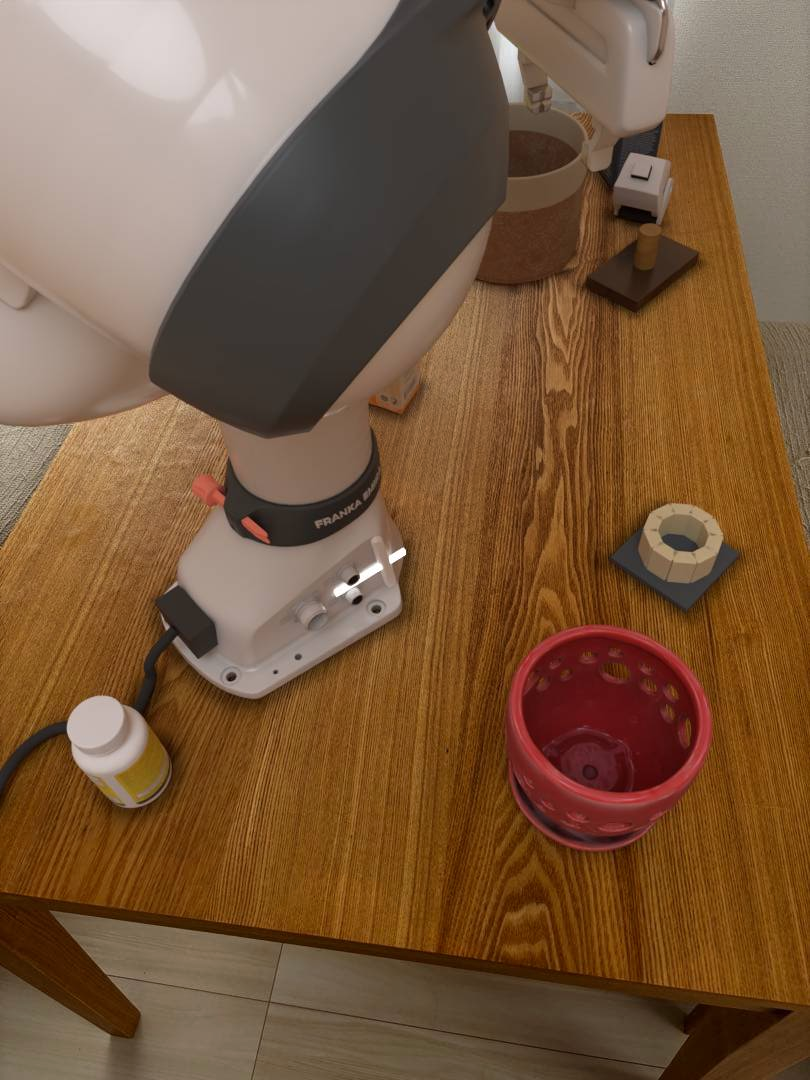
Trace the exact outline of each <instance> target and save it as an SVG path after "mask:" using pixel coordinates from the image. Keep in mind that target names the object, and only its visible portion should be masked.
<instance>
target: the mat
mask: <svg viewBox="0 0 810 1080" xmlns="http://www.w3.org/2000/svg"><path fill="white" fill-rule="evenodd" d="M644 526H645V523H644V524H643V525H642V526H641V527H640V528H639V529H637V531H636V532H634V533H633V534H632V536H630V537H629V538H628V539H627V540H626V541H625V542H624V543H623V544H622V545H621V546H620V547H619V548H618V549H617V550H616V551H615V552H614V553H613V554H612V555H611V556H610V558H609V561H610V562H611V563H612V564H614V565H616V567H618V568H619V569H621V570H622V571H624V572H625V573H627V574H628V575H630V576H631V577H633V578H634V579H635V580H637V581H639V583H641V584H643V585H644V586H646V587H647V588H648V589H650V590H652V591H653V592H654V593H656V594H657V595H659V596H660V597H661V598H663V599H665V600H666V601H668V602H669V603H670V604H672V605H673V606H675V607H676V608H678V609H679V610H680V611H682V612H683V613H685V614H686V613H687V612H689V610H690V609H691V608H692V607H694V606H695V604H696V603H697V602H698V601H699V600H700V599H701V598H702V597H703V596H704V594H706V593H707V591H709V590H710V588H711V587H712V586H713V585H714V584H715V583H716V582H717V581H718V580H719V578H721V576H722V575H724V573H725V572H726V571H727V570H728V569H729V568H730V567H731V566H732V565H733V564H734V563H735V562H736V561H737V559H738V558H739V557H740V554H741V553H740V552H739V551H737V550H736V549H735V548H733V547H732V546H730V545H728V544H726V543H725V542H723V541H722V543H721V546H720V549H719V552H718V555H717V557H716V560H715V562H714V565H713V567H712V570H711V572H710V573H709V574H708V575H706V576H704V577H702V578H700V579H699V580H697V581H695V582H693V583H691V582H690V583H689V584H688V583H677V582H667V579H666V580H665V581H664V580H663V579H661V578H660V577H658V576H656V575H655V574H653V573H652V572H650V571H649V570H647V567H645V566H644V564H643V561H642V559H641V556H640V554H639V551H638V547H639V543H640V539H641V535H642V532H643V528H644ZM661 539H662V541H663V543H665V544H666V545H668V546H669V547H671V548H672V549H674V550H676V551H684V552H694V551H696V550H698V549H699V548H698V546H697V544H696V543H695V542H694V541H692V540H690V539H689V538H687V537H686V536H684V535H676V534H667V535H665V536H663V537H661Z"/></svg>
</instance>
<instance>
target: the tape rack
mask: <svg viewBox="0 0 810 1080" xmlns="http://www.w3.org/2000/svg"><path fill="white" fill-rule="evenodd" d="M662 231H663V230H662V228H661V226H660V225H656V224H651V223H648V224H646V223H643V224H642V225H641V226H640V227H639V229H638V234H637V238H636V239H635V240H634V241H632V242H631V243H629V244H628V245H627V246H626V247H624V248H623V249H621V250H620V251H618V252H617V253H616V254H615V255H613V256H612V257H611V258H610V259H608V260H606V261H605V263H603V264H602V265H601V266H599V267H597V268H596V269H595V270H593V271H592V272H591V273H589V274H588V275H587V276H586V280H585V288H586V289H588V290H590V291H592V292H594V293H596V294H598V295H600V296H602V297H604V298H605V299H608V300H609V301H611V302H613V303H615V304H617V305H619V306H621V307H623V308H625V309H627V310H629V311H631V312H633V313H634V314H636V313H637V312H639V311H640V310H641V309H642V308H643V307H645V306H646V305H647V304H648V303H650V302H651V301H652V300H654V298H656V297H657V296H658V295H659V294H662V292H663V291H665V290H666V289H667V288H668V287H670V286H671V285H672V284H673V283H674V282H676V281H677V280H678V279H679V278H681V277H682V276H683V275H685V274H686V273H687V272H688V271H690V270H691V269H692V268H693V267H694V266H695V265H697V264H698V262H699V258H700V254H701V253H700V251H698V250H696V249H693V248H691V247H689V246H687V245H685V244H683V243H681V242H679V241H677V240H674V239H672V238H669V237H667V236H666V235H663V234H662Z"/></svg>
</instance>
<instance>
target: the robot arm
mask: <svg viewBox="0 0 810 1080" xmlns="http://www.w3.org/2000/svg"><path fill="white" fill-rule="evenodd" d="M493 23H494V27H495V29H496V30H497V32H499V34H501V35H502V36H503V37H504V38H505V39H506V40H508V42H510V43H511V44H512V45H513V46H514V47H515V48H516V49H517V63H518V67H519V72H520V76H521V81H522V84H523V103H524V106H525V107H526V108H527V109H528V110H529V111H530V112H532V113H533V114H535V115H536V114H539V113H540V112H541V113H544V112H547V111H548V110H549V109H550V107H552V97H553V87H551V85H549V79H550V80H551V81H552V82H553V83H554V84H555V85H557V86H558V87H559V88H560V89H562V91H563V92H564V93H566V94H567V95H568V96H569V97H570V98H571V99H572V100H573V101H574V102H575V103H577V104H578V105H579V106H580V107H581V108H582V109H583V110H584V111H586V112H587V114H588V115H590V117H591V124H590V125H591V128H592V129H594V132H593V135H592V136H591V138H590V139H589V140H586V141H583V142H582V155H581V162H582V163H583V164H584V165H585V166H586V168H587V169H588V170H589V171H590V172H592V173H596V172H600V170H603V169H606V168H608V167H609V165H610V164H611V159H612V152H613V146H614V145H615V144H616V142H617V141H618V140H619V138H623V137H628V136H632V135H636V134H639V133H643V132H646V131H649V130H652V129H654V128H656V127H657V126H658V125H659V124H660V123H661V122H662V121H663V122H664V120H665V118H666V116H667V114H668V109H669V103H670V98H671V97H670V96H671V89H672V81H673V80H672V79H673V72H674V71H673V70H674V60H675V59H674V57H675V41H676V31H675V20H674V16H673V12H672V10H671V8H670V7H669V6H668V4H667V1H666V0H0V425H2V426H7V427H22V428H23V427H24V428H25V427H26V428H38V427H39V428H40V427H50V426H51V427H52V426H60V425H66V424H67V425H69V424H74V423H75V424H76V423H82V422H83V423H84V422H87V421H93V420H98V419H103V418H107V417H109V416H114V415H118V414H121V413H124V412H128V411H132V410H134V409H139V408H142V407H144V406H145V405H148V404H151V403H153V402H156V401H158V400H160V399H162V398H165V397H167V396H170V395H171V396H173V397H175V398H177V399H178V400H180V401H182V402H183V403H185V404H187V405H188V406H191V407H192V408H194V409H197V410H198V411H200V412H201V413H204V414H205V415H207V416H210V417H211V418H213V419H215V420H216V422H217V423H218V427H219V430H220V433H221V437H222V439H223V443H224V446H225V449H226V451H227V454H228V455H227V461H226V465H225V466H226V467H225V473H224V480H223V484H221V483H219V482H218V481H217V480H216V478H215V477H214V476H213V475H212V474H209V473H203V474H200V475H199V476H198V477H196V479H194V481H193V483H192V486H191V492H192V494H193V495H194V496H195V497H197V498H198V499H200V500H202V501H203V503H204V504H205V505H206V506H207V507H214V508H213V509H212V511H211V512H210V514H209V515H208V517H207V518H206V519H205V521H204V523H203V524H202V525H201V527H200V529H199V530H198V532H197V533H195V536H193V538H192V540H191V542H190V543H189V544H188V546H187V547H186V549H185V550H184V552H182V554H181V556H180V558H179V560H178V563H177V567H176V568H177V569H176V580H175V581H174V582H173V584H172V585H171V586H169V588H168V589H167V590H166V591H165V592H164V593H163V594H162V595H161V596H159V597H158V598H157V599H155V600H154V603H155V605H156V607H157V609H158V611H159V613H160V618H161V621H162V624H163V627H164V630H165V632H164V633H163V634H162V635H161V636H160V638H159V639H158V640H156V642H155V643H154V644H153V646H152V647H151V648H150V650H149V651H148V653H147V654H146V657H145V658H144V662H143V665H142V667H143V672H144V675H145V678H144V681H143V683H142V686H141V689H140V692H139V693H138V696H137V698H136V701H135V703H134V704H133V706H132V708H133V709H135V710H136V711H137V712H139V713H140V715H141V716H143V713H144V711H145V709H146V708H147V705H148V703H149V700H150V698H151V697H152V693H153V690H154V688H155V685H156V682H157V678H158V673H157V669H156V664H157V661H158V660H159V658H160V657H161V655H162V654H163V653H164V651H165V650H166V649H167V648H168V647H169V646H170V645H171V644H172V645H173V646H174V649H175V650H176V651H177V652H178V653H179V655H181V657H182V658H183V659H184V660H185V661H186V663H188V665H189V666H191V668H192V669H194V670H195V671H196V672H197V673H198V674H199V675H200V676H201V677H203V678H204V679H205V680H206V681H208V682H209V683H210V684H212V685H213V686H215V687H216V688H218V689H220V690H222V691H224V692H226V693H228V694H230V695H233V696H237V697H239V698H245V699H249V700H259V699H261V698H264V697H265V696H267V695H268V694H271V693H272V692H274V691H275V690H277V689H279V688H281V687H282V686H284V685H286V684H287V683H289V682H291V681H292V680H294V679H295V678H297V677H299V676H301V675H302V674H304V673H306V672H307V671H309V670H310V669H312V668H314V667H315V666H318V665H319V664H321V663H322V662H324V661H326V660H327V659H329V658H330V657H332V656H335V655H336V654H337V653H339V652H342V651H343V650H344V649H346V648H347V647H349V646H351V645H352V644H354V643H356V642H357V641H359V640H361V639H362V638H364V637H366V636H367V635H369V634H371V633H372V632H374V631H376V630H378V629H380V628H381V627H382V626H385V625H387V624H388V623H389V622H391V621H392V620H394V619H396V618H397V617H398V616H400V614H401V613H402V612H403V607H404V606H403V603H404V602H403V601H404V600H403V596H402V592H401V588H400V576H401V573H402V568H403V565H404V559H405V556H406V554H407V552H406V549H405V546H404V540H403V536H402V534H401V532H400V529H399V527H398V525H397V524H396V522H395V521H394V519H393V518H392V516H391V514H390V512H389V510H388V507H387V506H386V502H385V498H384V496H383V492H382V488H381V483H382V476H383V474H382V464H381V457H380V451H379V444H378V440H377V436H376V433H375V431H374V429H373V427H372V426H371V423H370V407H369V403H368V399H369V398H371V397H373V396H375V395H376V394H378V393H379V392H381V391H382V390H384V389H385V388H387V387H388V386H390V385H391V384H393V383H394V382H396V381H397V380H398V379H399V378H400V377H402V376H403V375H404V374H405V373H406V372H408V371H409V370H410V369H411V368H412V367H414V366H415V365H416V364H417V363H418V362H420V361H421V360H422V359H423V358H424V357H425V356H426V355H427V354H428V353H429V352H430V350H431V349H432V348H433V347H434V346H435V345H436V343H437V342H438V341H439V340H440V338H441V337H442V336H443V335H444V334H445V332H446V331H447V330H448V328H449V327H450V326H451V324H452V322H453V321H454V319H455V317H456V316H457V314H458V312H459V311H460V309H461V307H462V306H463V304H464V303H465V301H466V299H467V297H468V294H469V292H470V290H471V288H472V286H473V284H474V282H475V280H476V278H475V277H476V275H477V273H478V270H479V267H480V264H481V261H482V258H483V255H484V252H485V249H486V245H487V241H488V237H489V233H490V229H491V224H492V219H493V214H494V213H495V212H496V211H497V210H498V209H499V207H500V206H501V205H502V204H503V203H504V201H505V199H506V190H507V179H508V162H509V103H510V102H509V99H508V94H507V90H506V86H505V83H504V79H503V73H502V72H501V68H500V64H499V61H498V58H497V55H496V52H495V49H494V46H493V45H494V44H493V42H492V40H491V37H490V35H489V31H490V29H491V27H492V25H493ZM548 78H549V79H548ZM376 610H379V611H380V612H377V613H375V612H374V611H376ZM232 677H235V679H233V680H232V681H229V679H230V678H232ZM67 723H68V721H59V722H54V723H51V724H50V725H46V726H45V727H43V728H41V729H39V730H38V731H36V732H35V733H34V734H32V735H31V736H29V737H28V738H26V739H25V741H23V742H22V743H21V744H20V745H19V746H18V747H17V748H16V749H15V750H14V751H13V752H12V753H11V754H10V756H9V757H8V758H7V760H6V761H5V762H4V764H3V765H2V766H1V769H0V797H1V796H2V794H3V793H4V790H5V788H6V786H7V784H8V782H9V780H10V779H11V777H12V776H13V774H14V773H15V770H16V769H17V768H18V766H19V765H20V764H21V763H22V762H23V760H24V759H25V758H26V757H27V756H28V755H29V754H30V753H31V752H32V751H33V750H34V749H36V748H37V747H38V746H39V745H41V744H42V743H44V742H45V741H47V740H49V739H51V738H52V737H55V736H57V735H60V734H68V733H67Z"/></svg>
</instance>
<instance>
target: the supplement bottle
mask: <svg viewBox="0 0 810 1080" xmlns="http://www.w3.org/2000/svg"><path fill="white" fill-rule="evenodd" d="M67 722H68V723H67V733H66V734H67V736H68V739H69V740H70V742H71V754H72V757H73V760H74V762H75V763H76V765H77V766H78V768H79V769H80V770H81V771H82V772H83V773H84V774H85V775H86V776H87V778H89V779H90V781H92V782H93V784H94V785H95V786H96V787H97V788H98V789H99V790H100V792H102V794H103V795H104V796H105V797H106V798H107V799H108V800H109V801H110V802H112V803H113V804H114V805H116V806H118V807H121V808H125V809H126V808H127V809H135V808H140V807H144V806H146V805H149V804H150V803H152V802H153V801H155V800H156V799H157V798H159V797H160V795H162V794H163V792H164V791H165V790H166V788H167V787H168V784H169V782H170V780H171V777H172V771H173V770H172V768H173V767H172V766H173V765H172V761H171V760H172V759H171V757H170V754H169V752H168V751H167V749H166V748H165V746H164V745H163V743H162V742H161V741H160V739H159V738H158V736H157V735H156V733H155V732H154V730H153V729H152V727H151V726H150V725H149V723H148V722H147V720H146V719H145V718H144V717H143V715H140V713H139V712H137V711H136V710H135V709H133V707H131V706H128V705H126V704H122V703H121V702H120V701H119V700H117V698H114V697H112V696H109V695H102V694H101V695H95V696H94V695H93V696H91V697H88V698H86V699H85V700H83V701H81V702H80V703H79V704H78V705H76V706H75V708H74V709H73V710H72V711H71V713H70V715H69V717H68V719H67Z"/></svg>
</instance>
